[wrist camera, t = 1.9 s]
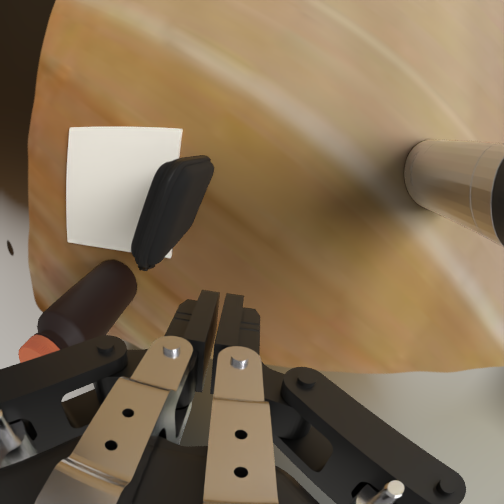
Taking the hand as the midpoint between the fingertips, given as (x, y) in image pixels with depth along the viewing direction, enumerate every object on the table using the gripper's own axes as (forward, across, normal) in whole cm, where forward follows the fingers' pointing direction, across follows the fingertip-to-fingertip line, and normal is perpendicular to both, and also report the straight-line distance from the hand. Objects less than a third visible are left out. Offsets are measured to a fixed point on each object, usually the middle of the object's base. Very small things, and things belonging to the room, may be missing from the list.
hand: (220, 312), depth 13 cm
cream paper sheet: (+25, +17, 0) cm, 30 cm away
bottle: (+25, +17, +13) cm, 33 cm away
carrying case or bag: (+25, +7, 0) cm, 26 cm away
